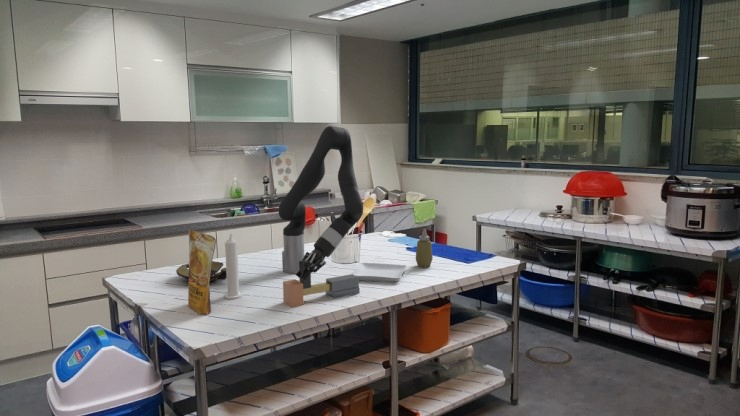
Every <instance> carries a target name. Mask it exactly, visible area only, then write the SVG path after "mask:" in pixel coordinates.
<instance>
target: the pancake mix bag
mask: <svg viewBox="0 0 740 416" xmlns="http://www.w3.org/2000/svg"><path fill="white" fill-rule="evenodd" d="M187 233H188V259H189V260H188V263H189V268H188V269H189V280H188V289H187V290H188V291H187V292H188V295H187V296H188V297H187V298H188V299H187V301H188V302H187V303H188V307H189V308H190V309H191V310H193V311H195V312H196V313H197V314H199V315H209V314H210V313H212V307H211V289H210V288H211V287H210V285H211V284H210V282H211V281H210V277H211V276H210V273H211V268H212V261H213V259H214V253H215V250H216V243H217V239H216V238H215V237H214V236H212V235H210V234H206V233H203V232H201V231H199V230H198V231H197V230H193V229H190V230H188V231H187Z"/></svg>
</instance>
